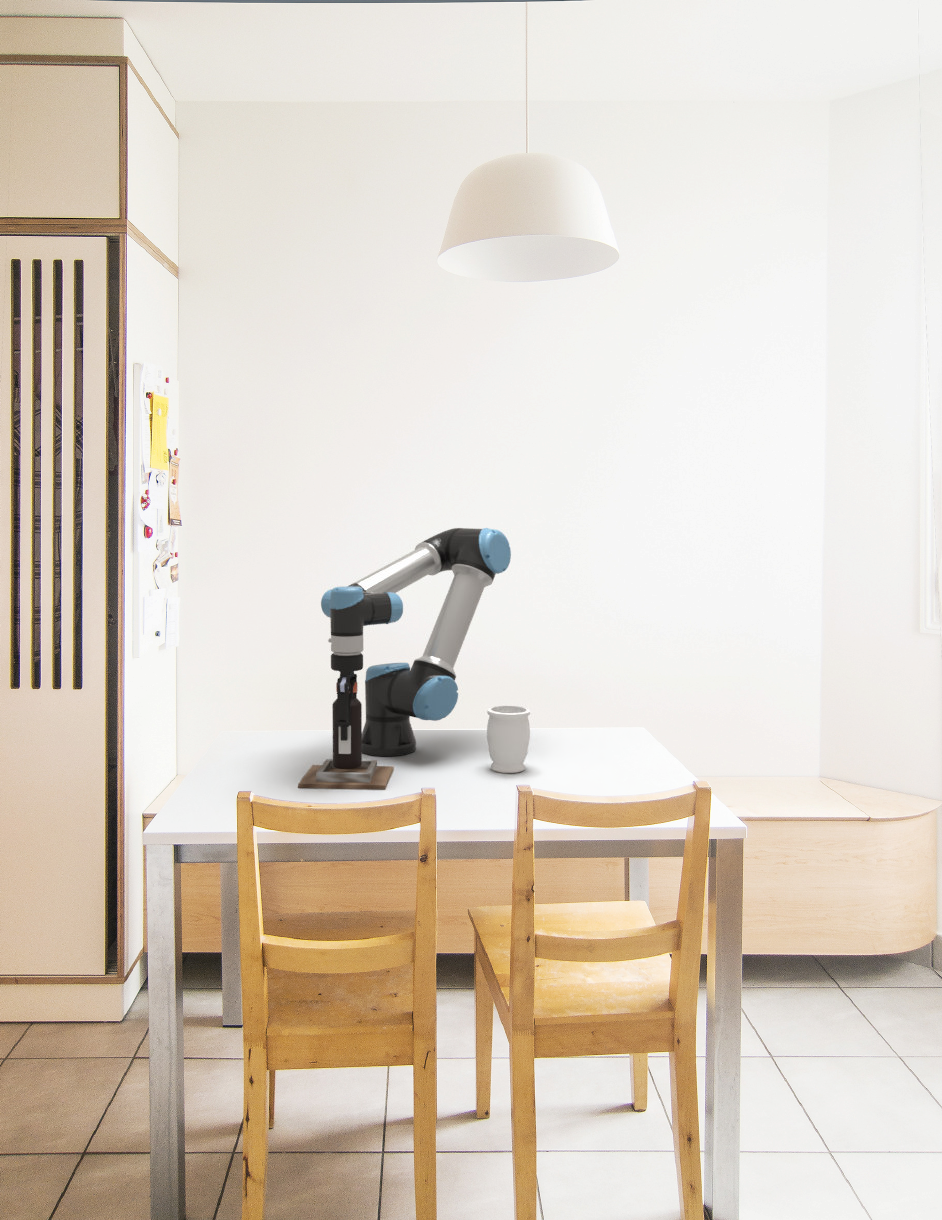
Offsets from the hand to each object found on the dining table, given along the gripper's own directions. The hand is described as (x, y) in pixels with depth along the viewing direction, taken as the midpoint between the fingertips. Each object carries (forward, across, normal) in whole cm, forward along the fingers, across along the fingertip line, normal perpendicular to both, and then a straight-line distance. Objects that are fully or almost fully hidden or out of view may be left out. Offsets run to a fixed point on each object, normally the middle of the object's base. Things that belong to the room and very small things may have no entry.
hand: (347, 749), depth 218 cm
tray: (+7, 0, 0) cm, 7 cm away
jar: (+7, -11, +38) cm, 40 cm away
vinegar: (+4, 0, 0) cm, 4 cm away
